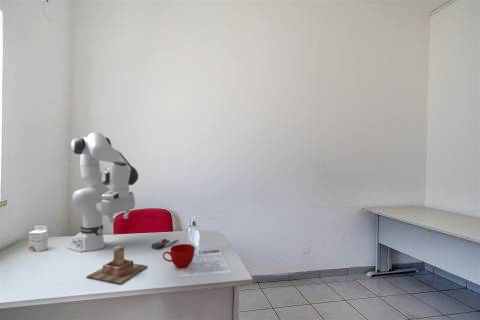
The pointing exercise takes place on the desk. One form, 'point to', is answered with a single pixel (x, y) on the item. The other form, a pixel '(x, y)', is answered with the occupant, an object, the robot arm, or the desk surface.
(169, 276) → the desk surface
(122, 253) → the wooden peg
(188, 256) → the ceramic cup
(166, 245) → the walkie-talkie
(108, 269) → the wooden peg socket board
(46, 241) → the ink cartridge box
